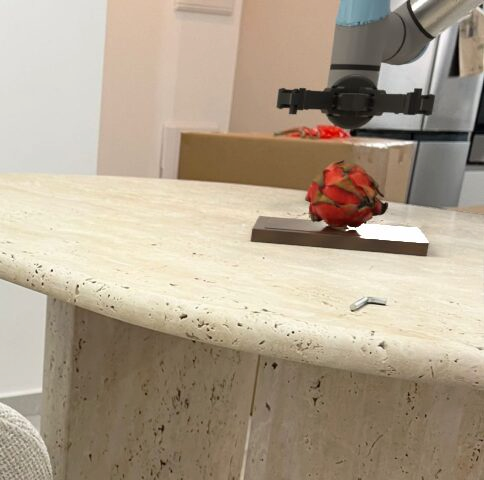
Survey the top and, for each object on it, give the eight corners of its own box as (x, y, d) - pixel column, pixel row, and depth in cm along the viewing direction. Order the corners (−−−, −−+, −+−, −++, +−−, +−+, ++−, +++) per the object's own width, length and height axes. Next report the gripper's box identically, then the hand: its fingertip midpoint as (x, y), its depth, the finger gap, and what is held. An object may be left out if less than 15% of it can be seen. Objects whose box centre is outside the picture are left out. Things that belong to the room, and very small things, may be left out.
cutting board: (416, 240, 121) (418, 227, 121) (426, 256, 109) (429, 242, 108) (257, 227, 126) (259, 215, 126) (250, 241, 114) (252, 227, 113)
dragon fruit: (319, 232, 124) (361, 262, 113) (277, 192, 120) (317, 219, 110) (367, 181, 121) (414, 206, 111) (326, 138, 118) (371, 160, 107)
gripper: (436, 133, 138) (454, 137, 119) (262, 124, 144) (252, 127, 125) (446, 77, 135) (466, 73, 116) (268, 71, 141) (259, 66, 122)
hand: (355, 101), depth 120 cm, fingers open, 13 cm apart
